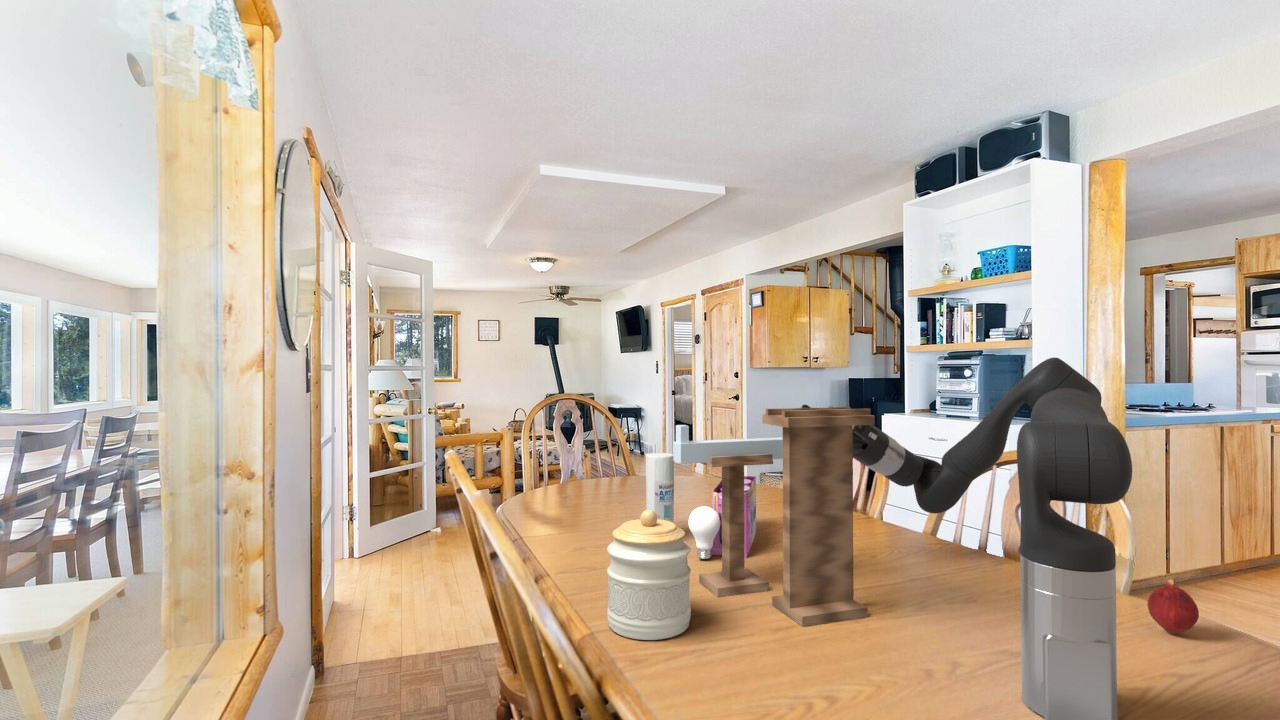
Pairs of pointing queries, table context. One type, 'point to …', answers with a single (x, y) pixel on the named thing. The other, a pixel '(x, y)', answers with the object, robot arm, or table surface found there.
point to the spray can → (660, 485)
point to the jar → (648, 579)
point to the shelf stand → (818, 513)
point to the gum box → (748, 515)
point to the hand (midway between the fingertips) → (814, 409)
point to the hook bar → (721, 447)
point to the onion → (1173, 608)
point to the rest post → (734, 530)
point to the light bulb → (704, 529)
